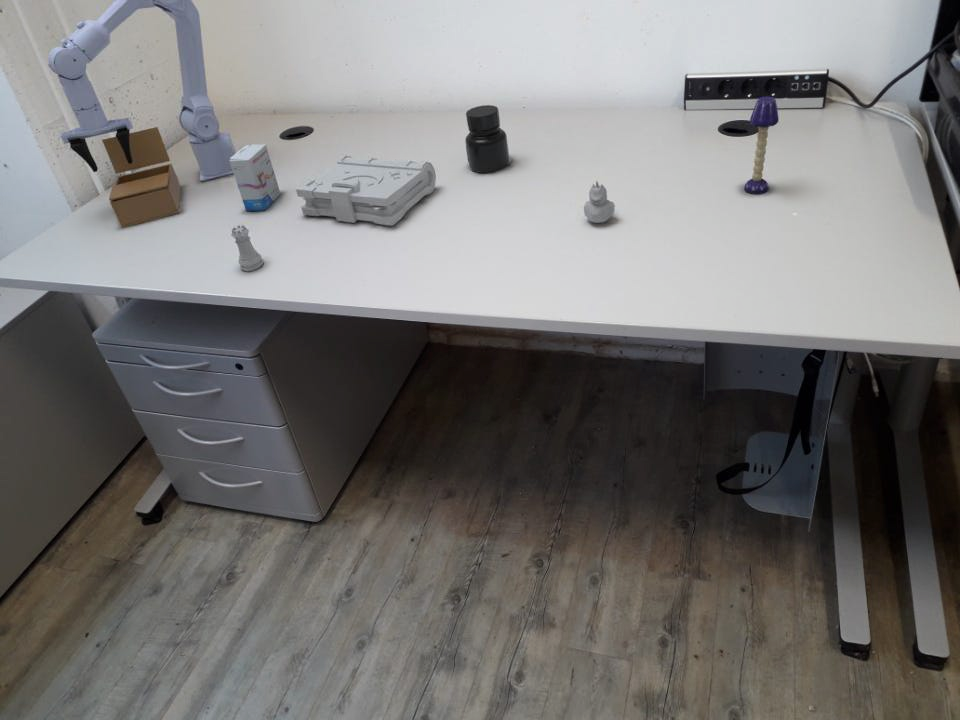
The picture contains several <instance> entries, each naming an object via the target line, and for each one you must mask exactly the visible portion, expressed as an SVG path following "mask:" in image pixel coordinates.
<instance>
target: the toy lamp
mask: <svg viewBox="0 0 960 720" xmlns="http://www.w3.org/2000/svg"><path fill="white" fill-rule="evenodd" d="M779 120H780V119H779V112H778V105H777V100H776V98H775V97H772V96H762V97H759V98H758V99H757V100H756V102H755V105H754V107H753V110H752V113H751V115H750V119H749V123H750V124H751V125H752V126H754V127H757V129H758V131H757V135H756V136H757V140H756V148H755V151H754V152H755V153H754V155H755V157H754V161H753V162H754V164H753V168H752V170H753V173H752V178H750V179H749V180H747V181H746V182H745V184H744V187H743V190H744V191H745V192H746V193H748V194H752V195H761V194H765V193H767V192H768V191H769V189H770V187H769V184H768V181H767V180H766V179H764V178H763V171H764V163H765V160H766V157H765V155H766V153H767V149H766V147H767V145H768V142H767V139H768V137H769V132H768V131H769V129H770V128H771V127H774V126H776V125H777V124H778V123H779Z"/></svg>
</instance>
